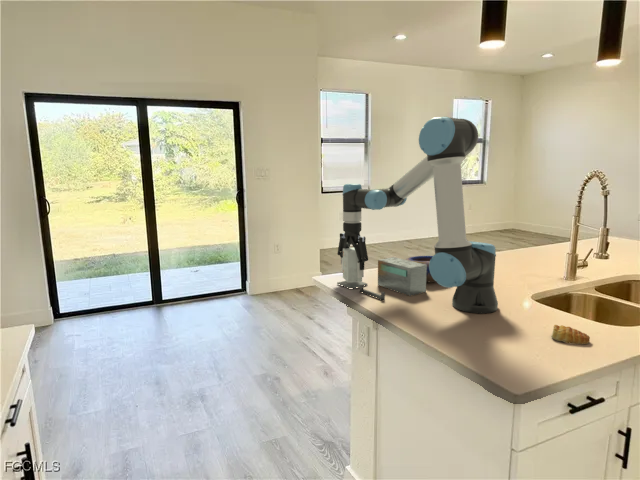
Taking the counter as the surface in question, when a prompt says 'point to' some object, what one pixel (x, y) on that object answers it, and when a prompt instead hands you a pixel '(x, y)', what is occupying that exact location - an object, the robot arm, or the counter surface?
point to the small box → (350, 265)
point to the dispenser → (400, 277)
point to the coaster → (351, 284)
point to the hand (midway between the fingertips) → (352, 274)
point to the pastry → (569, 335)
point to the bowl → (423, 261)
